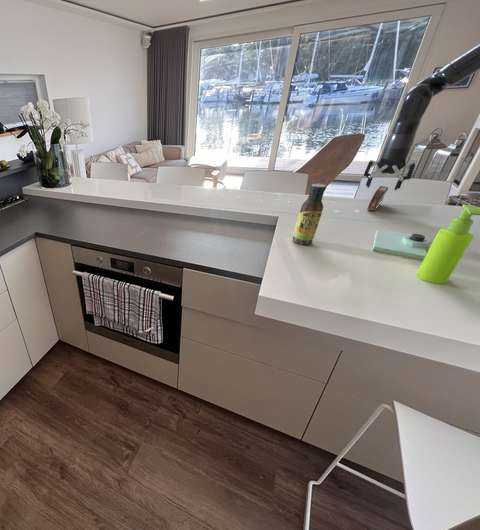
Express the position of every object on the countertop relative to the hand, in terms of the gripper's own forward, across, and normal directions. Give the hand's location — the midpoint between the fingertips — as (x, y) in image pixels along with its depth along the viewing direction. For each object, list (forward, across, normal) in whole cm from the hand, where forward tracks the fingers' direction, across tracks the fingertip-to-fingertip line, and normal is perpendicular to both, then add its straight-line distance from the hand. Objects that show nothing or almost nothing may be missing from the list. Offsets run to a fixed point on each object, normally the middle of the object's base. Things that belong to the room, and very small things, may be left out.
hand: (381, 188), depth 116 cm
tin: (+8, 0, 0) cm, 9 cm away
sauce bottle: (+9, +17, +48) cm, 52 cm away
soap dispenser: (+8, -15, +55) cm, 58 cm away
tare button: (+6, -12, +36) cm, 38 cm away
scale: (+8, -8, +36) cm, 38 cm away
